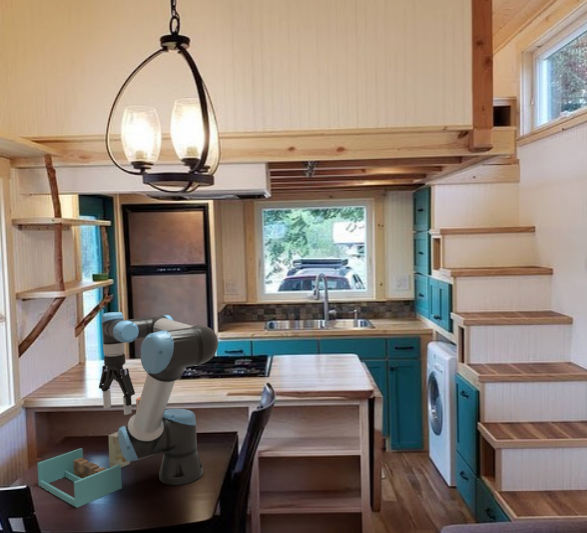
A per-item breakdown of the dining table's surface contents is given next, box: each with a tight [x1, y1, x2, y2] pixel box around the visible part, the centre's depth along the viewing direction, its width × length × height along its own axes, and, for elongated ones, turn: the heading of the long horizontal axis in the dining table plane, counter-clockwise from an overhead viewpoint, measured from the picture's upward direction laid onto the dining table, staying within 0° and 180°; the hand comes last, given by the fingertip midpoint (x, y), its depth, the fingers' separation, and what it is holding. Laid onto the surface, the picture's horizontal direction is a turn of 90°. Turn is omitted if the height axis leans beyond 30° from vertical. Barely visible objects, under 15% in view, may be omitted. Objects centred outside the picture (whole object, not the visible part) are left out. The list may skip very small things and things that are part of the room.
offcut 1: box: [73, 457, 90, 479], centre depth 185 cm, size 5×3×6 cm, turn 51°
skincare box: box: [108, 431, 131, 468], centre depth 193 cm, size 6×4×12 cm
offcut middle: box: [83, 461, 100, 478], centre depth 181 cm, size 5×3×6 cm, turn 51°
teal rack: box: [37, 447, 123, 508], centre depth 177 cm, size 26×16×8 cm, turn 51°
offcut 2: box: [94, 466, 107, 474], centre depth 176 cm, size 5×3×6 cm, turn 51°
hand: (117, 410), depth 193 cm, fingers open, 13 cm apart
